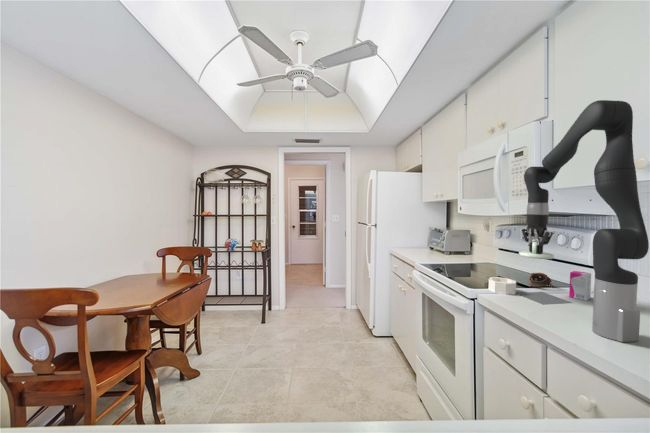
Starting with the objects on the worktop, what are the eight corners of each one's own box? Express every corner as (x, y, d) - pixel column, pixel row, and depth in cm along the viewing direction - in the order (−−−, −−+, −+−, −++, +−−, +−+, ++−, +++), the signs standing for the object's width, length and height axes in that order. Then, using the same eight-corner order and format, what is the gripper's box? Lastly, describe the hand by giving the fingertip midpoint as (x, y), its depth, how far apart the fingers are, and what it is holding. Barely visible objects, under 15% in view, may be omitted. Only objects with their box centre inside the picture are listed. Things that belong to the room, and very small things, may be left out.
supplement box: (590, 299, 120) (591, 272, 119) (586, 302, 116) (587, 274, 116) (573, 295, 124) (574, 270, 124) (568, 298, 121) (569, 272, 120)
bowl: (521, 295, 125) (522, 283, 125) (500, 296, 124) (500, 284, 123) (503, 287, 136) (503, 276, 135) (483, 288, 134) (483, 277, 134)
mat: (573, 303, 114) (573, 302, 114) (542, 305, 112) (542, 304, 112) (542, 292, 128) (542, 291, 128) (514, 294, 126) (514, 293, 126)
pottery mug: (559, 291, 131) (555, 277, 129) (539, 299, 133) (534, 285, 131) (541, 278, 143) (537, 265, 141) (523, 285, 144) (518, 273, 142)
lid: (561, 258, 116) (562, 243, 116) (535, 259, 115) (535, 244, 114) (536, 253, 128) (536, 239, 128) (512, 253, 127) (512, 240, 126)
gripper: (560, 214, 114) (558, 256, 115) (531, 212, 128) (529, 250, 129) (544, 214, 113) (542, 256, 114) (516, 212, 127) (515, 250, 128)
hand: (535, 252), depth 121 cm, fingers closed on lid, 2 cm apart
